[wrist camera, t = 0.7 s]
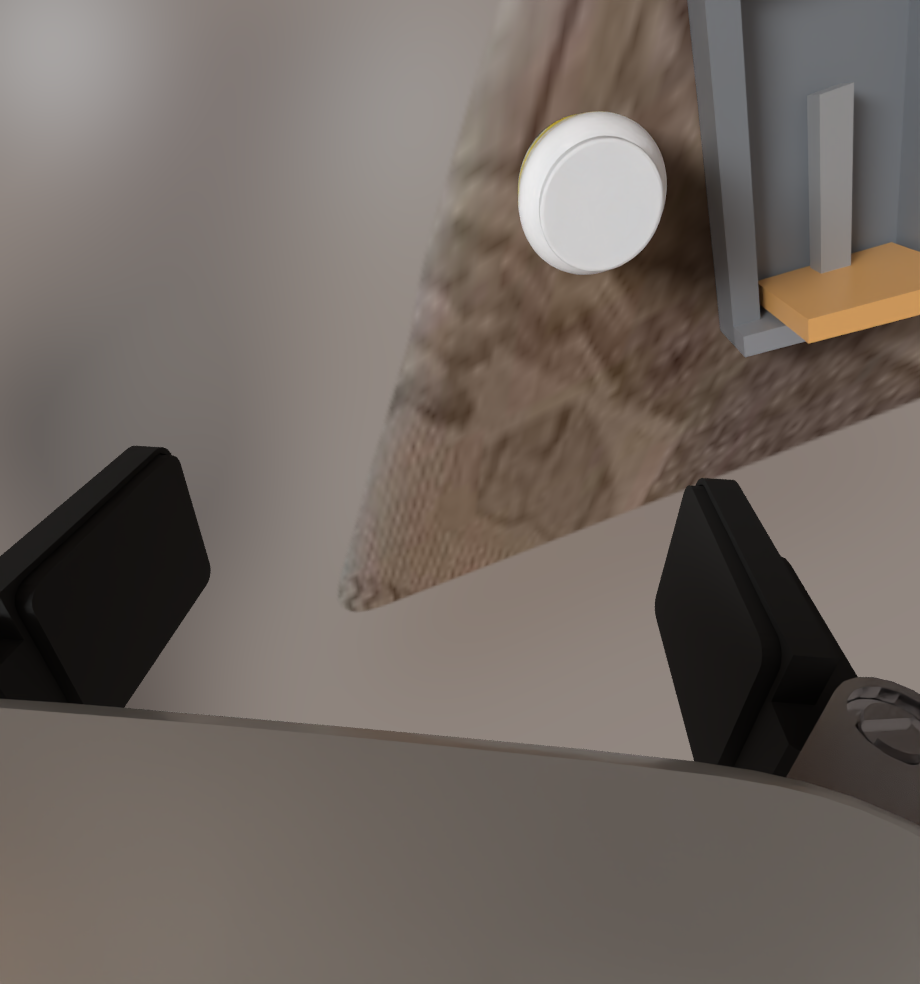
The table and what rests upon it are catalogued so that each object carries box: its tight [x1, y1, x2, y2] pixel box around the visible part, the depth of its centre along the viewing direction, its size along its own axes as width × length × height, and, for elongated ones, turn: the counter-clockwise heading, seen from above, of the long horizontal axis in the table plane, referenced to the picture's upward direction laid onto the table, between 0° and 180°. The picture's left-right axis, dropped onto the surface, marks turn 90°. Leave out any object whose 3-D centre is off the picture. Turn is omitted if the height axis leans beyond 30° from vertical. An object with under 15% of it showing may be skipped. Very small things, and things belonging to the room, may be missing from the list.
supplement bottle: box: [518, 111, 667, 275], centre depth 23 cm, size 5×5×10 cm
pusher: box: [758, 82, 920, 343], centre depth 23 cm, size 6×8×6 cm
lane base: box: [687, 0, 920, 357], centre depth 23 cm, size 9×16×4 cm, turn 19°
